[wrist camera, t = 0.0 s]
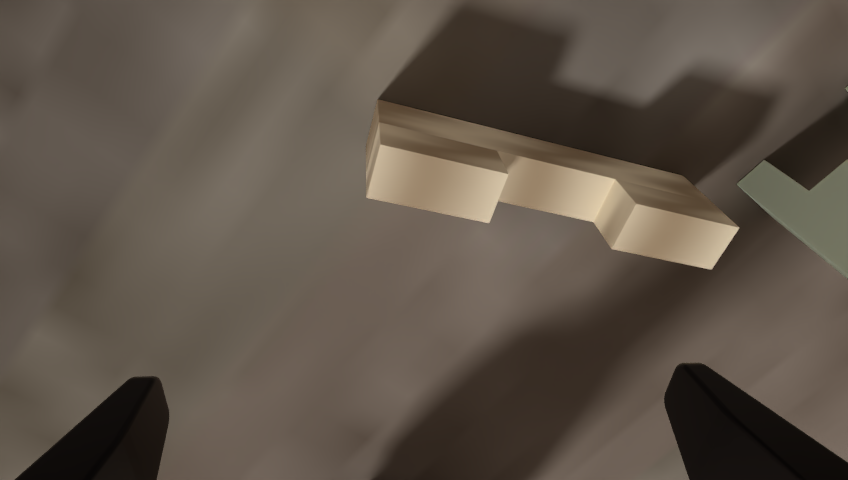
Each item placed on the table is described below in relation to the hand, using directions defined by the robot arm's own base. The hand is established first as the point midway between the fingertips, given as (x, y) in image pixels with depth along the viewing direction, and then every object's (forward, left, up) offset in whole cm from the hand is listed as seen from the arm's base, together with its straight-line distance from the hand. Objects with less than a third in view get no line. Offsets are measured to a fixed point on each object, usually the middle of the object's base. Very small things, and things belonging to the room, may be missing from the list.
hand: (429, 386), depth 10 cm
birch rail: (-2, -6, -15) cm, 16 cm away
